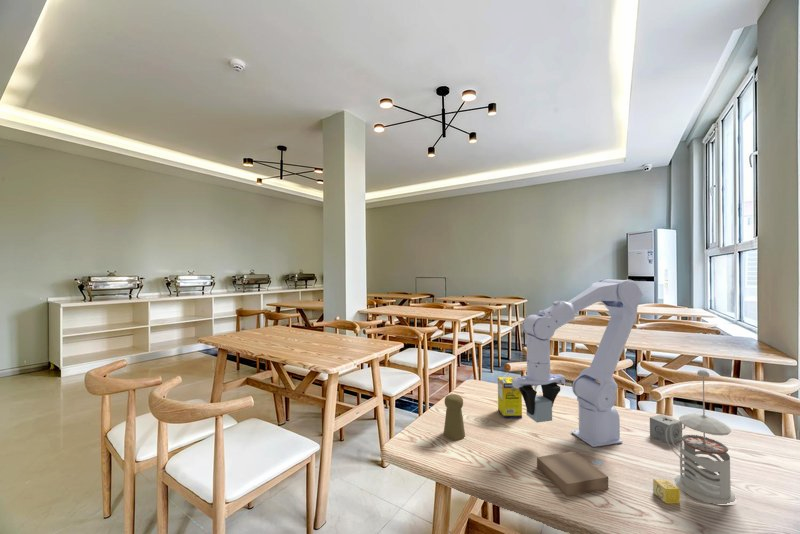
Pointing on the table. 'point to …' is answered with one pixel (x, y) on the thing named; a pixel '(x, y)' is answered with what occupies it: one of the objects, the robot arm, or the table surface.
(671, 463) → the table surface
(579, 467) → the walnut block
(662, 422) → the dice cube
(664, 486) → the alphabet block
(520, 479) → the table surface
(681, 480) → the french press
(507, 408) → the supplement box
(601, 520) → the table surface
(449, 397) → the olive pawn
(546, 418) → the slate block
